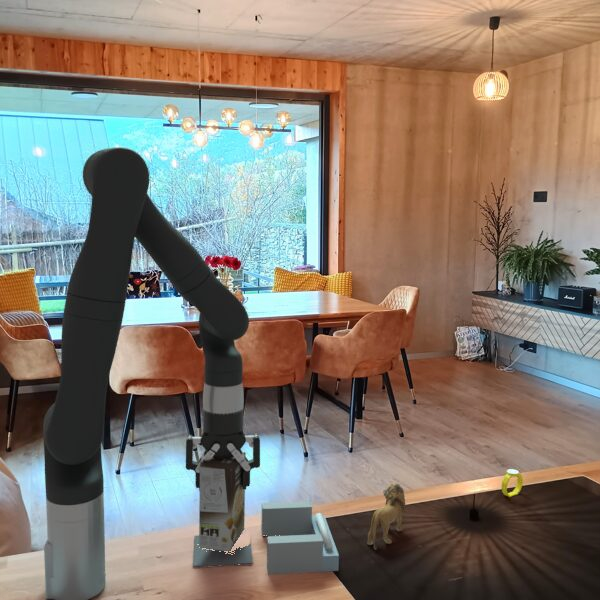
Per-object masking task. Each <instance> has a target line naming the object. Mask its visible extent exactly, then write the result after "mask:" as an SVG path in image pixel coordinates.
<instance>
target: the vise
mask: <svg viewBox="0 0 600 600" xmlns="http://www.w3.org/2000/svg"><path fill="white" fill-rule="evenodd" d="M260 526H261V531H262V532H261V536H262V535H265V536H266V535H267V536H268V537H266V541H267V542H266V570H267V575H284V574H286V575H287V574H303V573H318V572H319V573H321V572H322V573H323V572H339V567H340V566H339V565H340V564H339V563H340V562H339V561H340V560H339V559H340V555H339V551H338V549H337V547H336V544H335V541H334V538H333V536H332V533H331V530H330V528H329V524H328V521H327V519H326V516H325V514H322V513H320V512H318V513H315V514H313V506H312V503H311V501H289V502H286V501H283V502H262V503H261V524H260ZM275 535H276V536H275ZM279 535H280V536H279Z"/></svg>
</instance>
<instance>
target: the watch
mask: <svg viewBox="0 0 600 600" xmlns="http://www.w3.org/2000/svg"><path fill="white" fill-rule="evenodd" d="M512 477H514V478H515V477H516V478H517V479H516V480H517V481H516V485H515V488H514V489H513V490H512V491H510V492H508V484H509V481H510V480H511V478H512ZM523 481H524V480H523V476H522V474H521V473H520V472H519V470H517V469H513V468H509V469H506V474H505V475H504V476H503V479H502V482H501V491H502V493H503V495H504V496H506V497H508V498H512V497H514V496H517V495H519V494H520V492H521V490H522V487H523V485H524V484H523V483H524V482H523Z"/></svg>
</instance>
